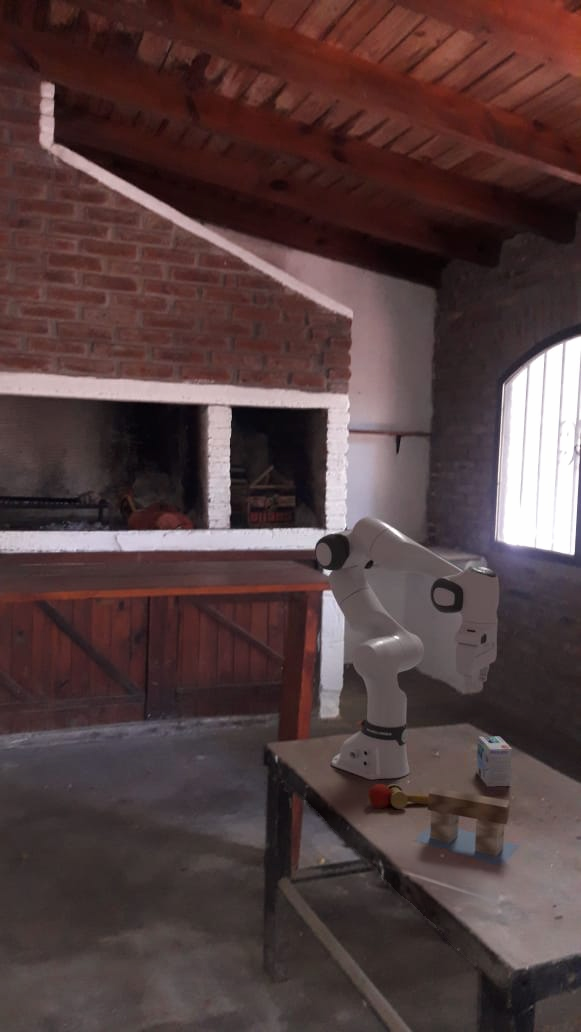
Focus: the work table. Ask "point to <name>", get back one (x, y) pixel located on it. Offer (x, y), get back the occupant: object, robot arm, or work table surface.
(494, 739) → the light bulb box
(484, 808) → the beam
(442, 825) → the pillar left
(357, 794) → the work table surface
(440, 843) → the board
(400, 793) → the kendama
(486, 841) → the pillar right
